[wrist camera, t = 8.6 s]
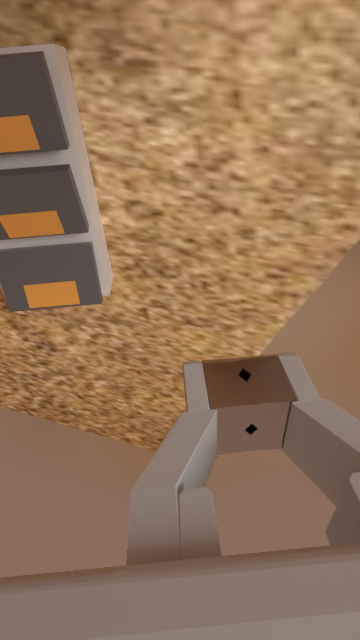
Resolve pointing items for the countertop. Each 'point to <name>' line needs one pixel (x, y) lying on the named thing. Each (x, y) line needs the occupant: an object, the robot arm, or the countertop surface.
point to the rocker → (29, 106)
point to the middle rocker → (40, 203)
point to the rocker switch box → (72, 156)
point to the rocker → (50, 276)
